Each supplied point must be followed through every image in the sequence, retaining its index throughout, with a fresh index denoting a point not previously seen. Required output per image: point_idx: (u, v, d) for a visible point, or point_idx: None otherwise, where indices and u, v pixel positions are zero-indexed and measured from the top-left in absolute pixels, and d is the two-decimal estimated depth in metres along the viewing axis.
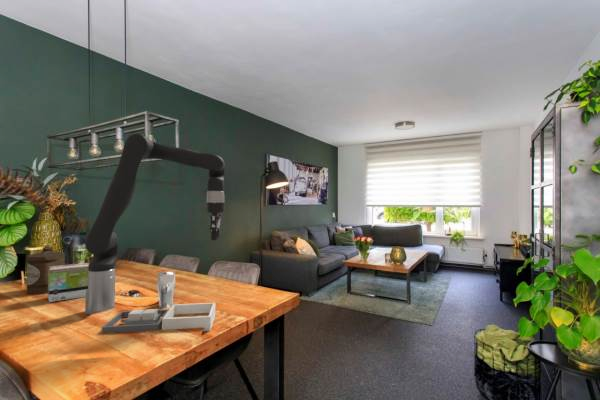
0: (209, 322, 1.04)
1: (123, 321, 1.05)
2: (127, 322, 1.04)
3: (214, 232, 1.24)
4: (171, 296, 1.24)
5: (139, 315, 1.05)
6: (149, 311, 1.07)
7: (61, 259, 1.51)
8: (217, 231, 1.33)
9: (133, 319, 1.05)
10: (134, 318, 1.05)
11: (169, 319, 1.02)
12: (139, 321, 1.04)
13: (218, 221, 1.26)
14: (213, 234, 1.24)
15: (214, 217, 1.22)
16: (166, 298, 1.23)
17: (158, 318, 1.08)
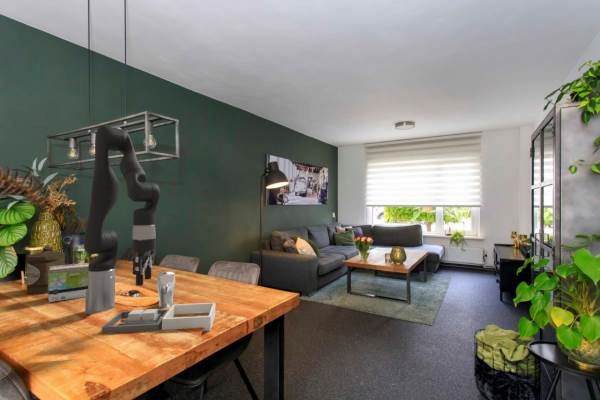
0: (209, 322, 1.04)
1: (123, 321, 1.05)
2: (127, 322, 1.04)
3: (139, 276, 1.02)
4: (171, 296, 1.24)
5: (139, 315, 1.05)
6: (149, 311, 1.07)
7: (61, 259, 1.51)
8: (149, 271, 1.11)
9: (133, 319, 1.05)
10: (134, 318, 1.05)
11: (169, 319, 1.02)
12: (139, 321, 1.04)
13: (145, 262, 1.05)
14: (138, 279, 1.02)
15: (138, 259, 1.01)
16: (166, 298, 1.23)
17: (158, 318, 1.08)
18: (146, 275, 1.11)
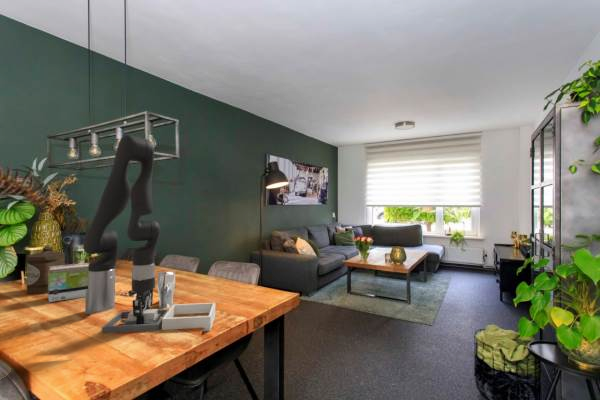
0: (209, 322, 1.04)
1: (123, 321, 1.05)
2: (127, 322, 1.04)
3: (139, 318, 1.03)
4: (171, 296, 1.24)
5: None
6: (149, 311, 1.07)
7: (61, 259, 1.51)
8: None
9: (133, 319, 1.05)
10: (134, 318, 1.05)
11: (169, 319, 1.02)
12: None
13: (145, 302, 1.05)
14: (138, 320, 1.03)
15: (137, 302, 1.00)
16: (166, 298, 1.23)
17: (158, 318, 1.08)
18: None
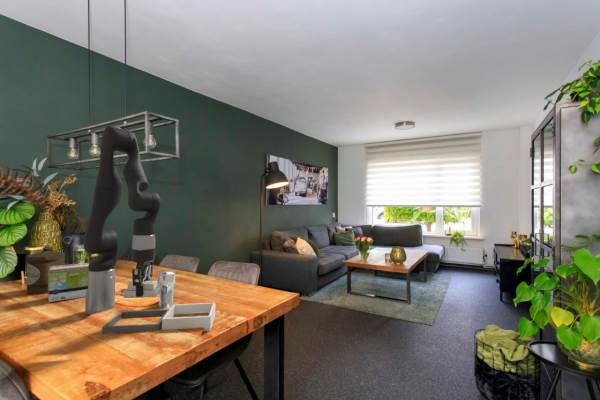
0: (209, 322, 1.04)
1: (123, 291, 1.05)
2: (126, 292, 1.04)
3: (139, 287, 1.03)
4: (171, 296, 1.24)
5: None
6: (149, 282, 1.07)
7: (61, 259, 1.51)
8: None
9: (133, 289, 1.05)
10: (134, 288, 1.05)
11: (169, 319, 1.02)
12: None
13: (145, 273, 1.05)
14: (138, 290, 1.03)
15: (137, 272, 1.00)
16: (166, 298, 1.23)
17: (157, 289, 1.08)
18: None
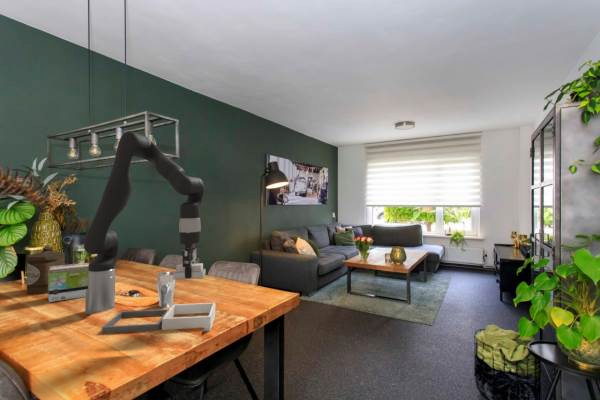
0: (209, 322, 1.04)
1: (171, 273, 1.08)
2: (176, 274, 1.06)
3: (188, 269, 1.06)
4: (171, 296, 1.24)
5: None
6: (196, 264, 1.10)
7: (61, 259, 1.51)
8: None
9: (181, 271, 1.07)
10: (182, 270, 1.07)
11: (169, 319, 1.02)
12: None
13: (193, 255, 1.07)
14: (187, 271, 1.06)
15: (187, 253, 1.03)
16: (166, 298, 1.23)
17: (204, 272, 1.11)
18: None
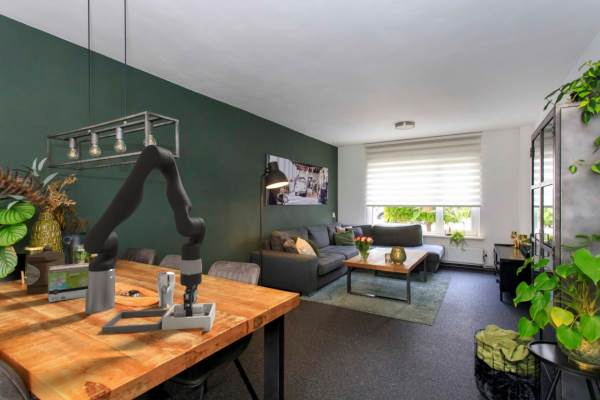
0: (209, 322, 1.04)
1: (172, 314, 1.08)
2: (176, 315, 1.06)
3: (189, 311, 1.06)
4: (171, 296, 1.24)
5: None
6: (197, 305, 1.10)
7: (61, 259, 1.51)
8: None
9: (182, 313, 1.07)
10: (183, 312, 1.07)
11: (169, 319, 1.02)
12: None
13: (194, 296, 1.07)
14: (188, 314, 1.06)
15: (188, 296, 1.03)
16: (166, 298, 1.23)
17: (205, 312, 1.11)
18: None
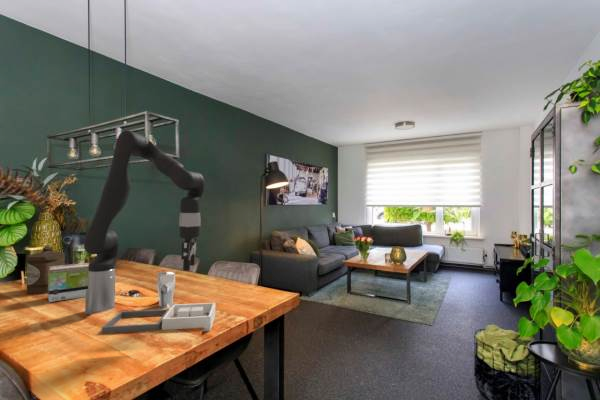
0: (209, 322, 1.04)
1: None
2: None
3: (186, 261, 1.06)
4: (171, 296, 1.24)
5: (187, 312, 1.08)
6: (197, 309, 1.10)
7: (61, 259, 1.51)
8: (192, 258, 1.15)
9: (182, 316, 1.07)
10: (183, 316, 1.07)
11: (169, 319, 1.02)
12: None
13: (192, 248, 1.08)
14: (185, 264, 1.06)
15: (186, 244, 1.04)
16: (166, 298, 1.23)
17: None
18: (190, 261, 1.15)
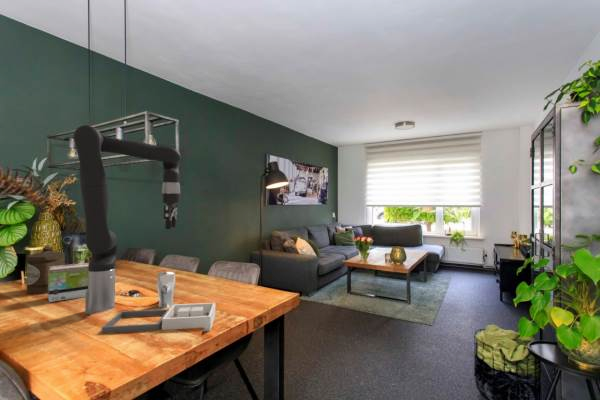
0: (209, 322, 1.04)
1: None
2: None
3: (168, 221, 1.30)
4: (171, 296, 1.24)
5: (187, 312, 1.08)
6: (197, 309, 1.10)
7: (61, 259, 1.51)
8: (174, 221, 1.39)
9: (182, 316, 1.07)
10: (183, 316, 1.07)
11: (169, 319, 1.02)
12: None
13: (173, 211, 1.33)
14: (167, 223, 1.30)
15: (167, 207, 1.29)
16: (166, 298, 1.23)
17: None
18: (172, 224, 1.39)
